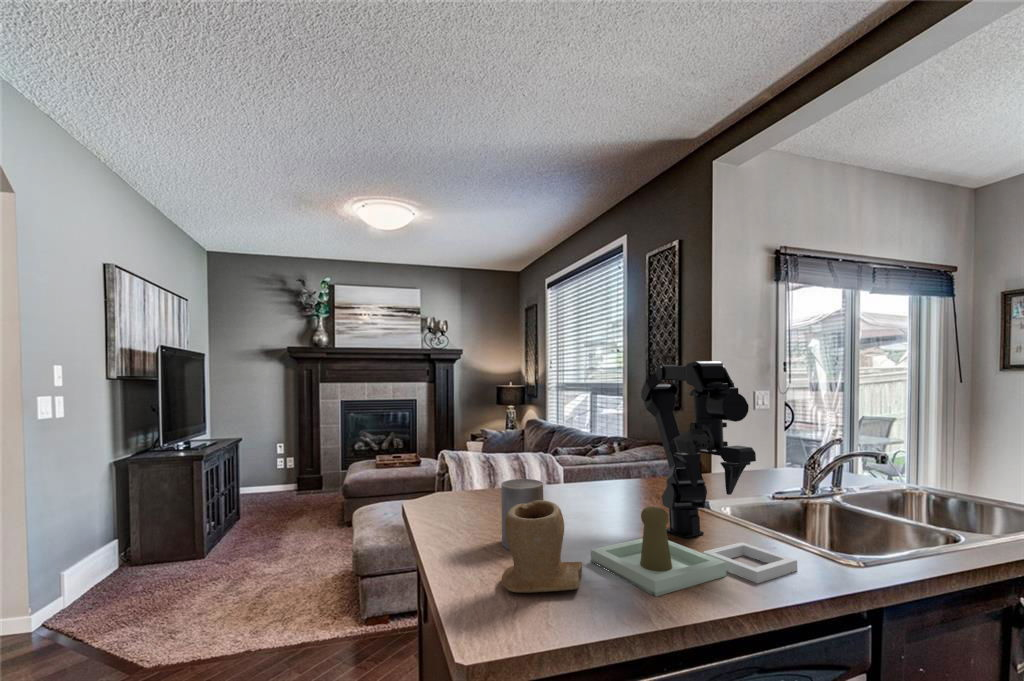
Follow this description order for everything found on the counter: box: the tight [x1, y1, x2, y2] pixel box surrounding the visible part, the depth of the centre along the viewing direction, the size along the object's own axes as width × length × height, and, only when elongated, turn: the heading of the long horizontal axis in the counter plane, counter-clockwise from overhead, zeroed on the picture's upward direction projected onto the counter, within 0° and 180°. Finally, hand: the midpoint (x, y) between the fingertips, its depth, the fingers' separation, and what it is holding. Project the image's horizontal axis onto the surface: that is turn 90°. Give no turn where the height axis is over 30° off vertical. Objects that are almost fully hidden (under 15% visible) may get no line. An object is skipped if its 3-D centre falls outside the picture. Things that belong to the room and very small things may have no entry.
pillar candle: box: [500, 477, 545, 551], centre depth 110 cm, size 10×10×15 cm
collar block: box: [702, 541, 798, 584], centre depth 96 cm, size 12×12×2 cm
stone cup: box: [501, 499, 583, 594], centre depth 87 cm, size 15×12×15 cm
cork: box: [640, 506, 672, 572], centre depth 95 cm, size 6×6×11 cm
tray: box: [590, 537, 727, 597], centre depth 95 cm, size 18×18×2 cm
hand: (711, 490), depth 105 cm, fingers open, 9 cm apart
